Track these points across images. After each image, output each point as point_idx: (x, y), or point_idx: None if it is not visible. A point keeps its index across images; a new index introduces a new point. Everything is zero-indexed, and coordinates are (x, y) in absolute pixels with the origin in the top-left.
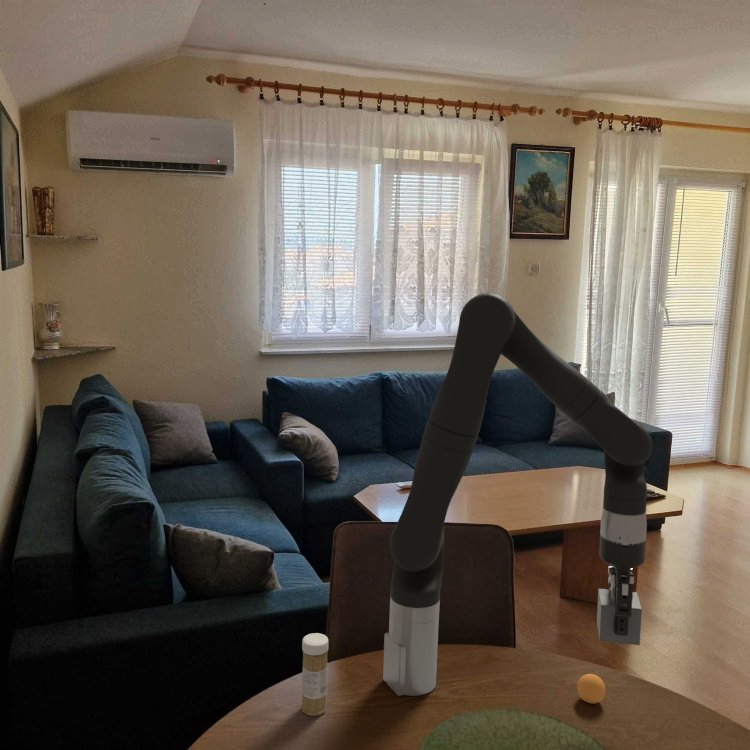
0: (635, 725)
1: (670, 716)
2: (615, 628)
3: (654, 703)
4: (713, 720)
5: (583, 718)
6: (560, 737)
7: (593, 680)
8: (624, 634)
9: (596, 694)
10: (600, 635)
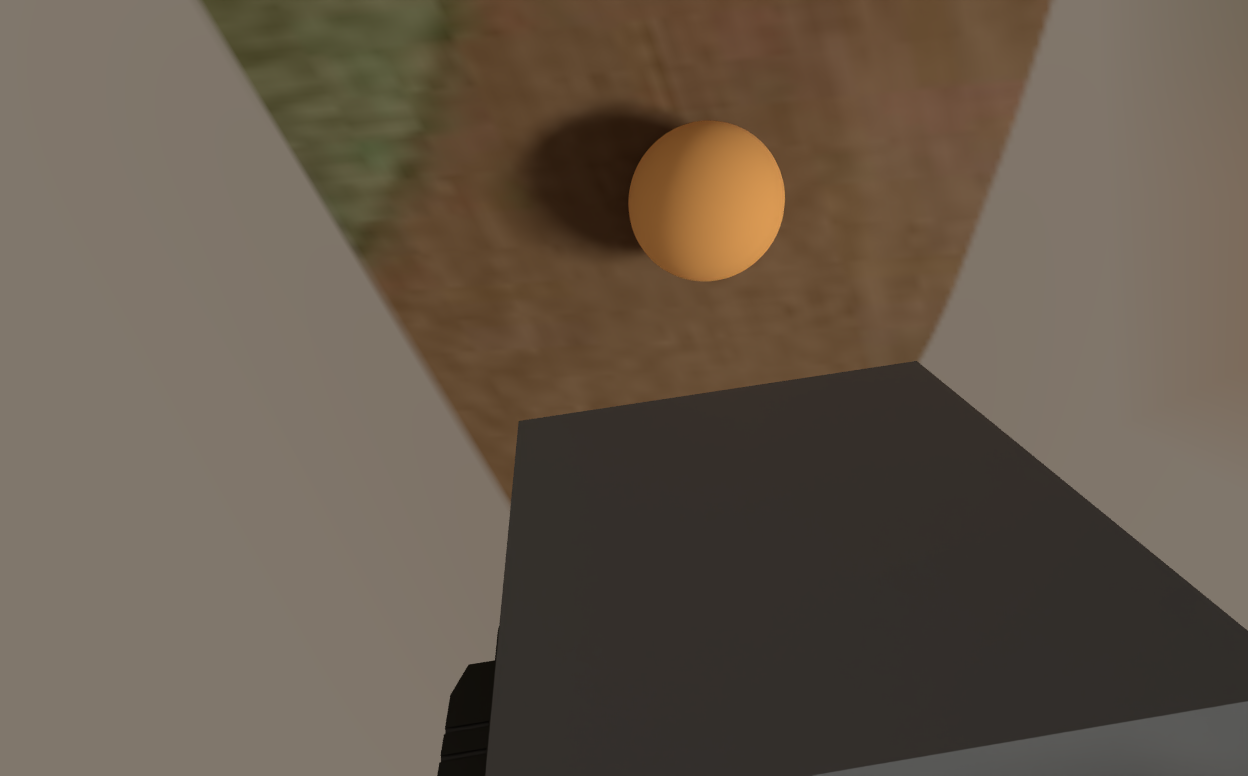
0: (574, 390)
1: None
2: None
3: None
4: None
5: (524, 167)
6: (292, 62)
7: (686, 229)
8: None
9: (637, 238)
10: (516, 460)
